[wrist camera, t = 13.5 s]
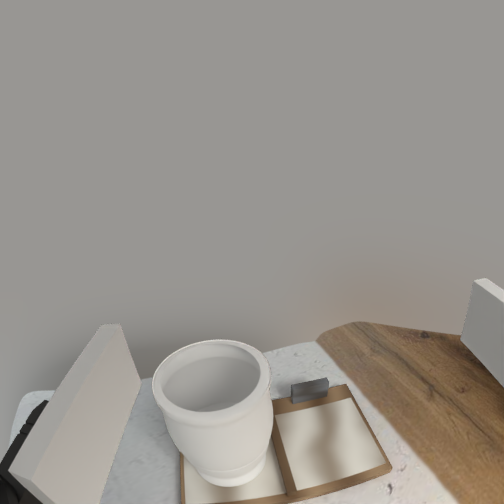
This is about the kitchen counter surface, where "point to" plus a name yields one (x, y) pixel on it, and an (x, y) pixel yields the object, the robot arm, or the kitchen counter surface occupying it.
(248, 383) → the jar
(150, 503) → the kitchen counter surface
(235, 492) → the tag board
